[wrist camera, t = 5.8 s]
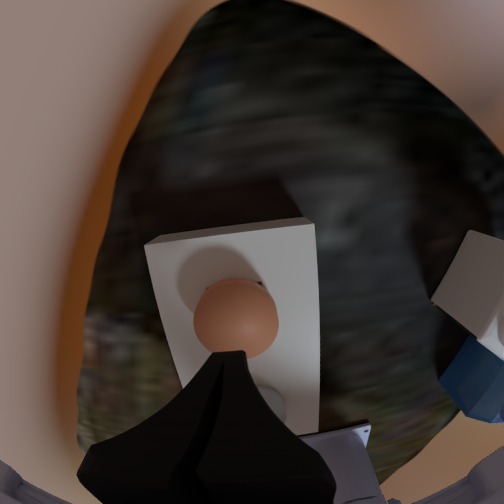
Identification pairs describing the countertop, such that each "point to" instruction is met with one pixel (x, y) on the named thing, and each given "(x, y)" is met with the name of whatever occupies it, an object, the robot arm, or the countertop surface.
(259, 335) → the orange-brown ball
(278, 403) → the grey button
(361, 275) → the countertop surface
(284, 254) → the panel
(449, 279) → the medicine bottle
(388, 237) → the countertop surface
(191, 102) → the countertop surface
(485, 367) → the perfume bottle
